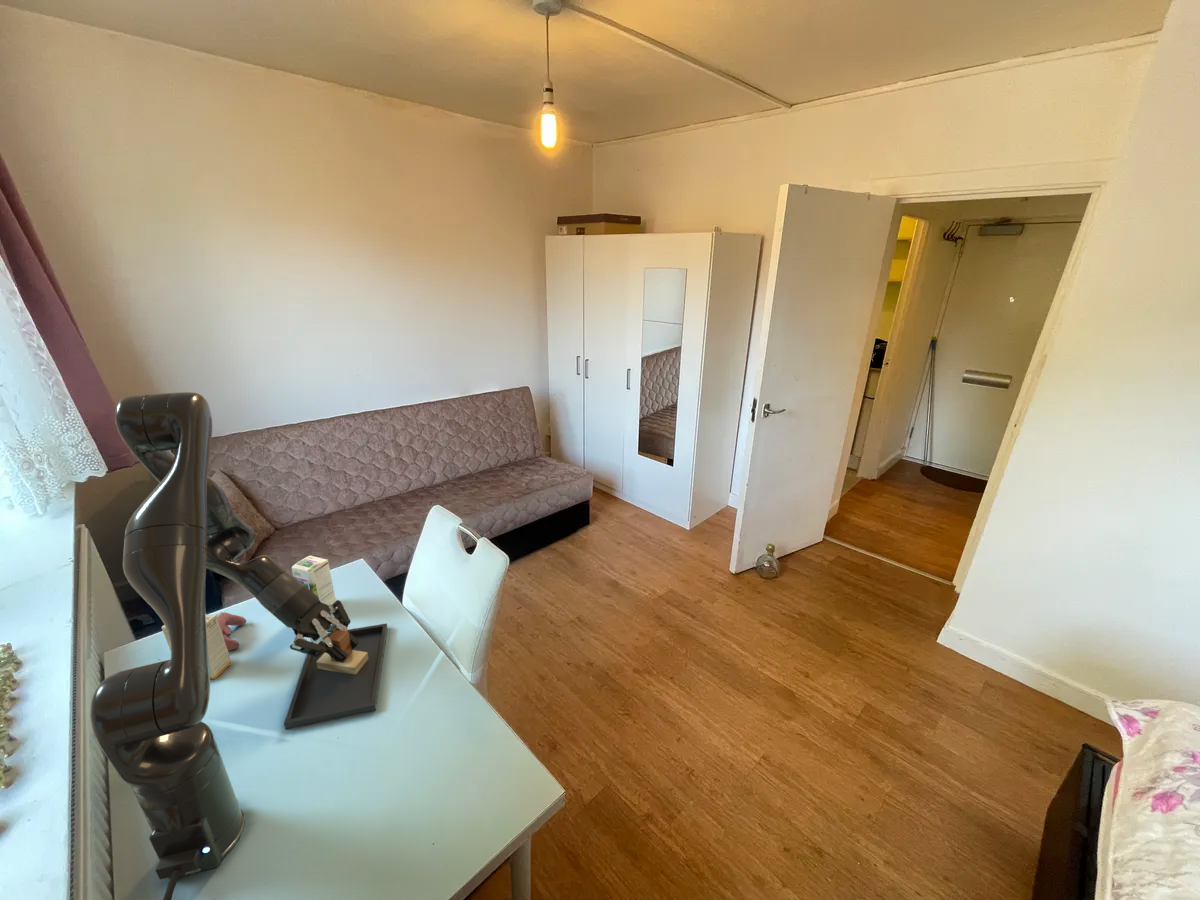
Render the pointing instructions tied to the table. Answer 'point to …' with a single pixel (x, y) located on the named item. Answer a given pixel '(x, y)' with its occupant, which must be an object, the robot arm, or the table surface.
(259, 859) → the table surface
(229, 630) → the video game controller
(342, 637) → the stacked wooden blocks
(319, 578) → the syrup box
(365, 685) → the tray
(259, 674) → the table surface
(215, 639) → the supplement box
